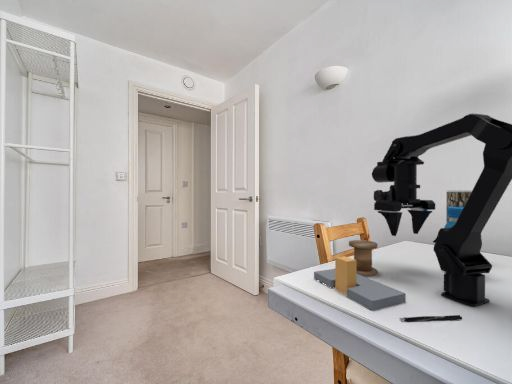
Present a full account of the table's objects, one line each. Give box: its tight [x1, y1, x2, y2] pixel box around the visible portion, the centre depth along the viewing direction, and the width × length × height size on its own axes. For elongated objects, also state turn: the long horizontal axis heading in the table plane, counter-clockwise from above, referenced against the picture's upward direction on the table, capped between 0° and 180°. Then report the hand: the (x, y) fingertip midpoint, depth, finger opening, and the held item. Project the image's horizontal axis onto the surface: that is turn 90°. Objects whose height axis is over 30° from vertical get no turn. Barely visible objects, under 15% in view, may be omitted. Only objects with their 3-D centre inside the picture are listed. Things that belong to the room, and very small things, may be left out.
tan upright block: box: [334, 255, 356, 296], centre depth 61 cm, size 4×3×8 cm
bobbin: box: [348, 239, 378, 278], centre depth 75 cm, size 8×8×9 cm
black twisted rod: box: [398, 314, 463, 323], centre depth 47 cm, size 12×1×1 cm, turn 94°
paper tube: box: [445, 190, 472, 223], centre depth 85 cm, size 7×7×25 cm
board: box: [313, 268, 407, 312], centre depth 62 cm, size 20×10×2 cm, turn 23°
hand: (404, 234), depth 72 cm, fingers open, 9 cm apart
